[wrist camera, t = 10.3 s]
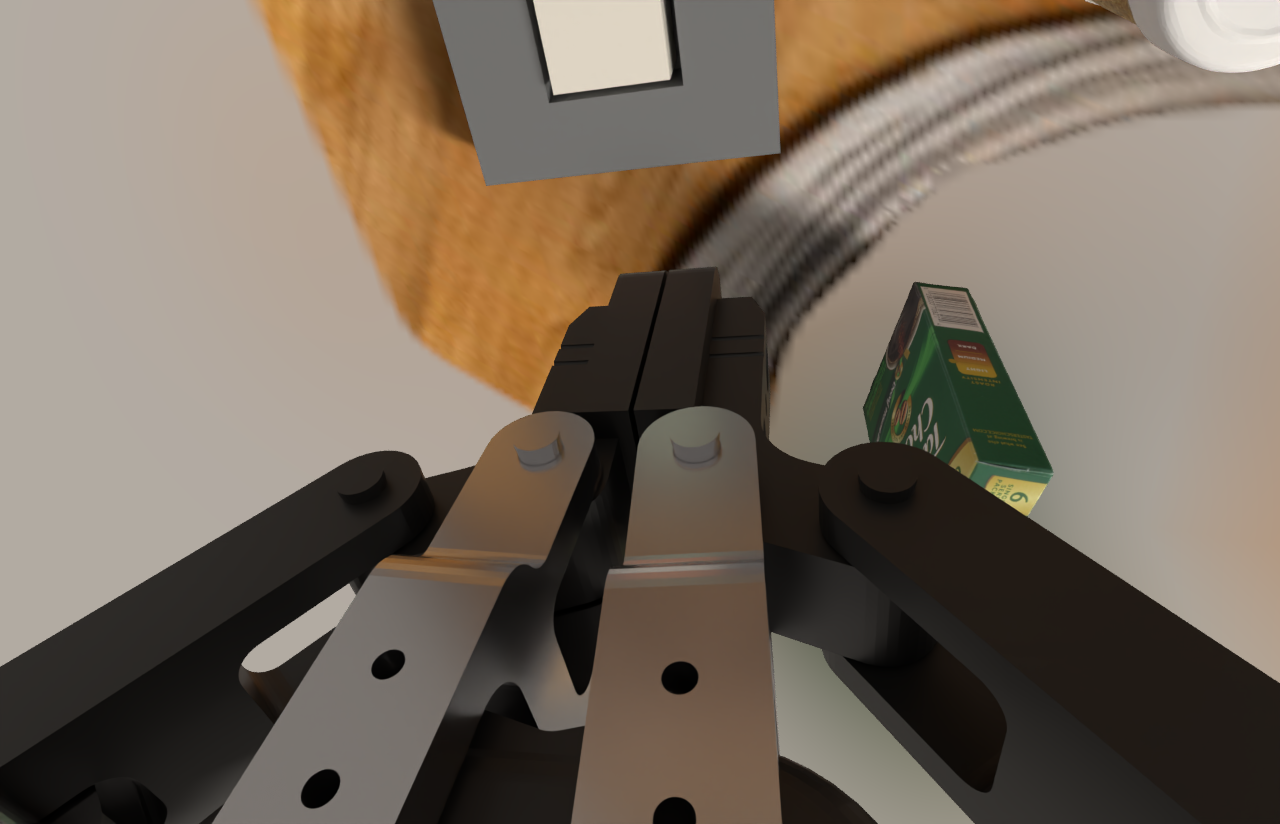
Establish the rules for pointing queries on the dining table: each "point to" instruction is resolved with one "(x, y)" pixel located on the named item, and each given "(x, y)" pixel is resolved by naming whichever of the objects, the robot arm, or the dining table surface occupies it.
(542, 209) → the dining table surface
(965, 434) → the coffee box
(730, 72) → the button panel
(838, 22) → the dining table surface
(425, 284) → the dining table surface
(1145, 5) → the sprinkles bottle
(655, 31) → the button cream
